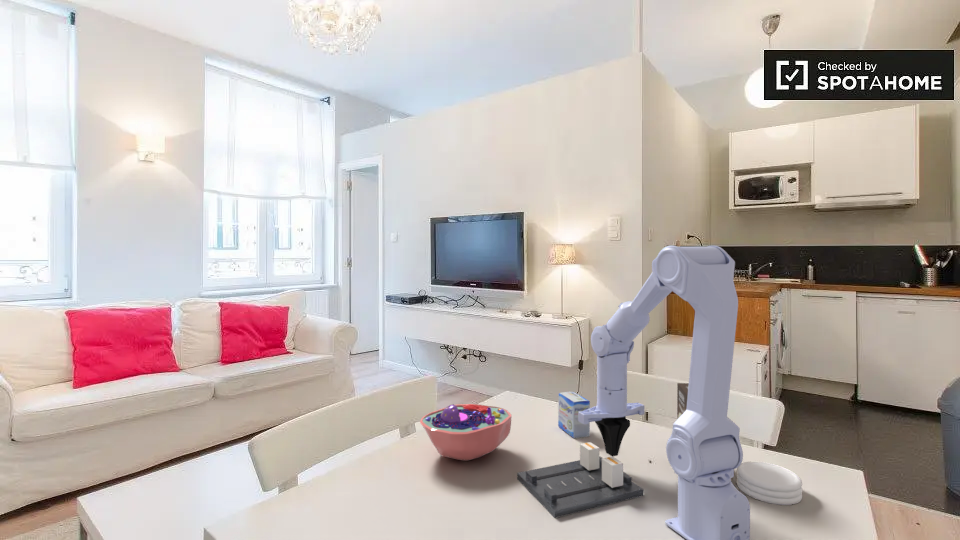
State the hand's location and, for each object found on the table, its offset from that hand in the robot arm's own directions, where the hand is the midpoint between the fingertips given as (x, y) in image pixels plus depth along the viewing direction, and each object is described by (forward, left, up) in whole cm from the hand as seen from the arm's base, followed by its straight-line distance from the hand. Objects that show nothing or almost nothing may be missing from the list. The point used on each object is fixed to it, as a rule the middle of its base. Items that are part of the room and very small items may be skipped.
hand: (611, 454), depth 91 cm
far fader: (0, +5, -2) cm, 6 cm away
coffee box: (-6, -16, -3) cm, 17 cm away
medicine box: (+20, -4, -3) cm, 20 cm away
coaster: (-17, -21, -3) cm, 27 cm away
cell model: (+18, +24, -3) cm, 30 cm away
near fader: (-7, +5, -2) cm, 9 cm away
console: (-3, +10, -3) cm, 11 cm away
